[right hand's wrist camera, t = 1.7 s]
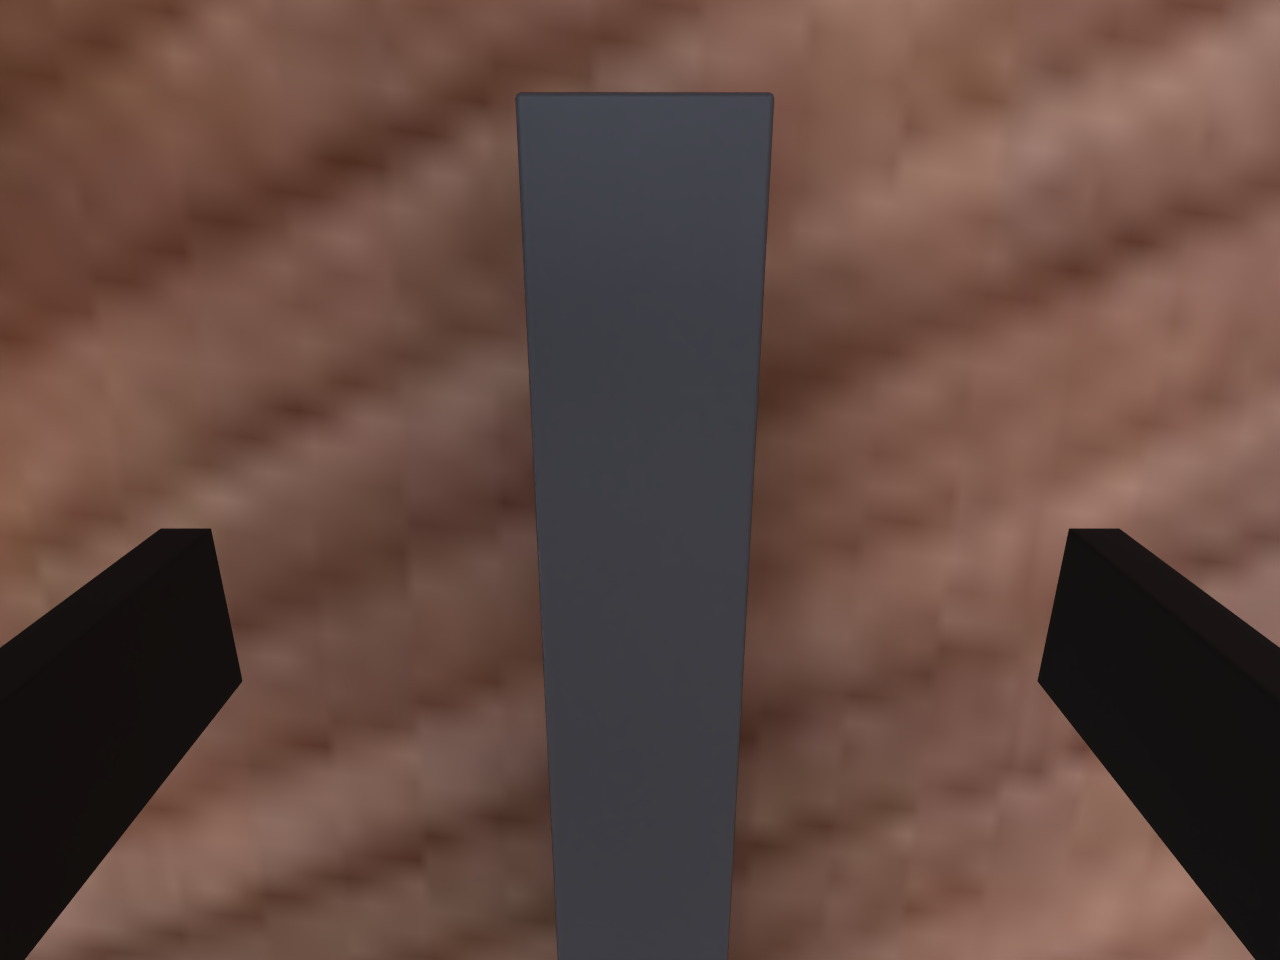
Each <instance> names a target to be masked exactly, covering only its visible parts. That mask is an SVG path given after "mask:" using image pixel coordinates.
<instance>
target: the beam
mask: <svg viewBox="0 0 1280 960" xmlns="http://www.w3.org/2000/svg"><path fill="white" fill-rule="evenodd" d="M773 110H774V96H773V94H771V93H682V92H520V93H518V94H517V95H516V118H517V139H518V159H519V179H520V200H521V220H522V240H523V261H524V281H525V301H526V322H527V342H528V362H529V383H530V403H531V423H532V444H533V464H534V484H535V505H536V525H537V545H538V566H539V586H540V606H541V627H542V647H543V667H544V688H545V708H546V728H547V749H548V769H549V789H550V810H551V830H552V851H553V871H554V891H555V912H556V932H557V952H558V960H728V946H729V927H730V908H731V890H732V871H733V853H734V834H735V816H736V797H737V778H738V760H739V741H740V723H741V704H742V686H743V667H744V649H745V630H746V611H747V593H748V574H749V556H750V537H751V519H752V500H753V481H754V463H755V444H756V426H757V407H758V389H759V370H760V352H761V333H762V314H763V296H764V277H765V259H766V240H767V222H768V203H769V184H770V166H771V147H772V129H773Z"/></svg>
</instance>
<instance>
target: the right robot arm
mask: <svg viewBox="0 0 1280 960" xmlns="http://www.w3.org/2000/svg"><path fill="white" fill-rule="evenodd" d="M241 682H242V677H241V672H240V667H239V662H238V658H237V653H236V648H235V643H234V638H233V633H232V628H231V624H230V619H229V614H228V609H227V604H226V599H225V595H224V590H223V585H222V580H221V575H220V570H219V566H218V561H217V556H216V551H215V546H214V541H213V536H212V532H211V529H160V530H158V531H157V532H156V533H154V534H153V535H152V536H150V537H149V538H148V539H146V540H145V541H143V542H142V543H141V544H139V545H138V546H137V547H135V548H134V549H133V550H131V551H130V552H129V553H127V554H126V555H125V556H123V557H122V558H121V559H119V560H118V561H117V562H115V563H114V564H112V565H111V566H110V567H108V568H107V569H106V570H104V571H103V572H102V573H100V574H99V575H98V576H96V577H95V578H94V579H92V580H91V581H90V582H88V583H87V584H86V585H84V586H83V587H82V588H80V589H79V590H77V591H76V592H75V593H73V594H72V595H71V596H69V597H68V598H67V599H65V600H64V601H63V602H61V603H60V604H59V605H57V606H56V607H55V608H53V609H52V610H51V611H49V612H48V613H46V614H45V615H44V616H42V617H41V618H40V619H38V620H37V621H36V622H34V623H33V624H32V625H30V626H29V627H28V628H26V629H25V630H24V631H22V632H21V633H20V634H18V635H17V636H15V637H14V638H13V639H11V640H10V641H9V642H7V643H6V644H5V645H3V646H2V647H1V648H0V960H25V958H26V957H27V956H28V955H29V953H30V952H31V951H32V950H33V948H34V947H35V946H36V944H37V943H38V942H39V941H40V939H41V938H42V937H43V935H44V934H45V933H46V932H47V930H48V929H49V928H50V927H51V925H52V924H53V923H54V921H55V920H56V919H57V918H58V916H59V915H60V914H61V912H62V911H63V910H64V909H65V907H66V906H67V905H68V904H69V902H70V901H71V900H72V898H73V897H74V896H75V895H76V893H77V892H78V891H79V889H80V888H81V887H82V886H83V884H84V883H85V882H86V880H87V879H88V878H89V877H90V875H91V874H92V873H93V872H94V870H95V869H96V868H97V866H98V865H99V864H100V863H101V861H102V860H103V859H104V857H105V856H106V855H107V854H108V852H109V851H110V850H111V849H112V847H113V846H114V845H115V843H116V842H117V841H118V840H119V838H120V837H121V836H122V834H123V833H124V832H125V831H126V829H127V828H128V827H129V826H130V824H131V823H132V822H133V820H134V819H135V818H136V817H137V815H138V814H139V813H140V811H141V810H142V809H143V808H144V806H145V805H146V804H147V803H148V801H149V800H150V799H151V797H152V796H153V795H154V794H155V792H156V791H157V790H158V788H159V787H160V786H161V785H162V783H163V782H164V781H165V780H166V778H167V777H168V776H169V774H170V773H171V772H172V771H173V769H174V768H175V767H176V765H177V764H178V763H179V762H180V760H181V759H182V758H183V756H184V755H185V754H186V753H187V751H188V750H189V749H190V748H191V746H192V745H193V744H194V742H195V741H196V740H197V739H198V737H199V736H200V735H201V733H202V732H203V731H204V730H205V728H206V727H207V726H208V725H209V723H210V722H211V721H212V719H213V718H214V717H215V716H216V714H217V713H218V712H219V710H220V709H221V708H222V707H223V705H224V704H225V703H226V702H227V700H228V699H229V698H230V696H231V695H232V694H233V693H234V691H235V690H236V689H237V687H238V686H239V685H240V684H241ZM1038 682H1039V684H1040V685H1041V686H1042V687H1043V689H1044V690H1045V691H1046V693H1047V694H1048V695H1049V696H1050V698H1051V699H1052V700H1053V702H1054V703H1055V704H1056V705H1057V707H1058V708H1059V709H1060V710H1061V712H1062V713H1063V714H1064V716H1065V717H1066V718H1067V719H1068V721H1069V722H1070V723H1071V725H1072V726H1073V727H1074V728H1075V730H1076V731H1077V732H1078V733H1079V735H1080V736H1081V737H1082V739H1083V740H1084V741H1085V742H1086V744H1087V745H1088V746H1089V748H1090V749H1091V750H1092V751H1093V753H1094V754H1095V755H1096V756H1097V758H1098V759H1099V760H1100V762H1101V763H1102V764H1103V765H1104V767H1105V768H1106V769H1107V771H1108V772H1109V773H1110V774H1111V776H1112V777H1113V778H1114V780H1115V781H1116V782H1117V783H1118V785H1119V786H1120V787H1121V788H1122V790H1123V791H1124V792H1125V794H1126V795H1127V796H1128V797H1129V799H1130V800H1131V801H1132V803H1133V804H1134V805H1135V806H1136V808H1137V809H1138V810H1139V811H1140V813H1141V814H1142V815H1143V817H1144V818H1145V819H1146V820H1147V822H1148V823H1149V824H1150V826H1151V827H1152V828H1153V829H1154V831H1155V832H1156V833H1157V834H1158V836H1159V837H1160V838H1161V840H1162V841H1163V842H1164V843H1165V845H1166V846H1167V847H1168V849H1169V850H1170V851H1171V852H1172V854H1173V855H1174V856H1175V857H1176V859H1177V860H1178V861H1179V863H1180V864H1181V865H1182V866H1183V868H1184V869H1185V870H1186V872H1187V873H1188V874H1189V875H1190V877H1191V878H1192V879H1193V880H1194V882H1195V883H1196V884H1197V886H1198V887H1199V888H1200V889H1201V891H1202V892H1203V893H1204V895H1205V896H1206V897H1207V898H1208V900H1209V901H1210V902H1211V904H1212V905H1213V906H1214V907H1215V909H1216V910H1217V911H1218V912H1219V914H1220V915H1221V916H1222V918H1223V919H1224V920H1225V921H1226V923H1227V924H1228V925H1229V927H1230V928H1231V929H1232V930H1233V932H1234V933H1235V934H1236V935H1237V937H1238V938H1239V939H1240V941H1241V942H1242V943H1243V944H1244V946H1245V947H1246V948H1247V950H1248V951H1249V952H1250V953H1251V955H1252V956H1253V957H1254V958H1255V960H1280V648H1279V647H1278V646H1277V645H1275V644H1274V643H1273V642H1271V641H1270V640H1269V639H1267V638H1266V637H1265V636H1263V635H1262V634H1260V633H1259V632H1258V631H1256V630H1255V629H1254V628H1252V627H1251V626H1250V625H1248V624H1247V623H1246V622H1244V621H1243V620H1242V619H1240V618H1239V617H1238V616H1236V615H1235V614H1234V613H1232V612H1231V611H1229V610H1228V609H1227V608H1225V607H1224V606H1223V605H1221V604H1220V603H1219V602H1217V601H1216V600H1215V599H1213V598H1212V597H1211V596H1209V595H1208V594H1207V593H1205V592H1204V591H1203V590H1201V589H1200V588H1198V587H1197V586H1196V585H1194V584H1193V583H1192V582H1190V581H1189V580H1188V579H1186V578H1185V577H1184V576H1182V575H1181V574H1180V573H1178V572H1177V571H1176V570H1174V569H1173V568H1172V567H1170V566H1169V565H1168V564H1166V563H1165V562H1163V561H1162V560H1161V559H1159V558H1158V557H1157V556H1155V555H1154V554H1153V553H1151V552H1150V551H1149V550H1147V549H1146V548H1145V547H1143V546H1142V545H1141V544H1139V543H1138V542H1137V541H1135V540H1134V539H1132V538H1131V537H1130V536H1128V535H1127V534H1126V533H1124V532H1123V531H1122V530H1120V529H1069V532H1068V536H1067V541H1066V546H1065V551H1064V556H1063V561H1062V566H1061V570H1060V575H1059V580H1058V585H1057V590H1056V595H1055V599H1054V604H1053V609H1052V614H1051V619H1050V624H1049V628H1048V633H1047V638H1046V643H1045V648H1044V653H1043V658H1042V662H1041V667H1040V672H1039V677H1038Z"/></svg>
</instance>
